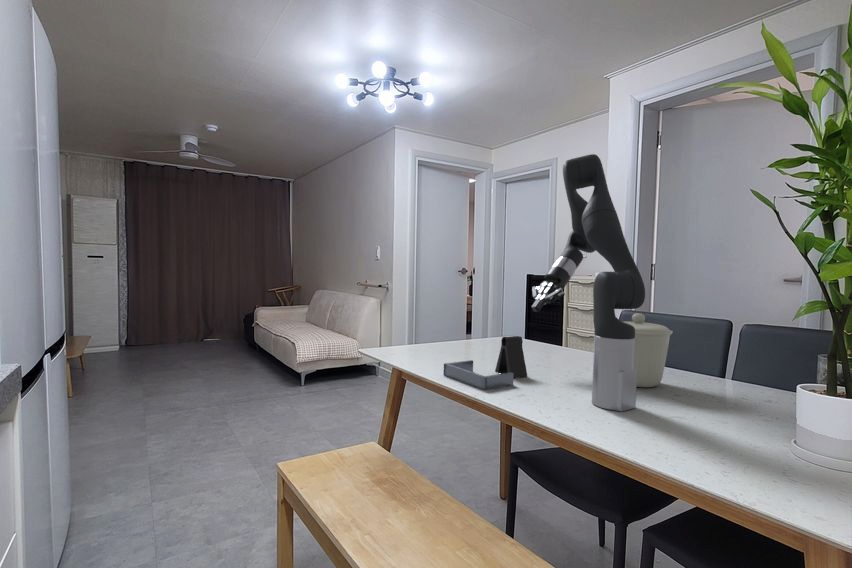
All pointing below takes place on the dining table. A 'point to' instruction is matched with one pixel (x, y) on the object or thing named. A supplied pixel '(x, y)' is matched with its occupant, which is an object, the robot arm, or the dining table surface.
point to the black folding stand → (511, 357)
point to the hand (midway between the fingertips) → (534, 310)
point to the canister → (649, 350)
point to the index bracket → (476, 376)
